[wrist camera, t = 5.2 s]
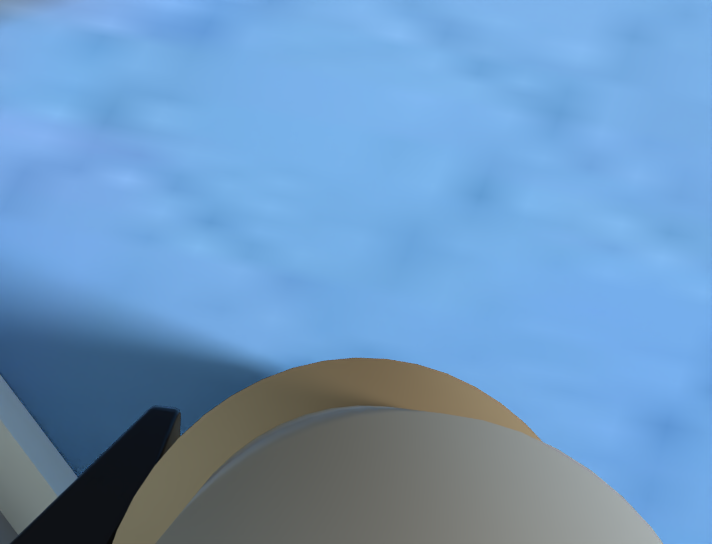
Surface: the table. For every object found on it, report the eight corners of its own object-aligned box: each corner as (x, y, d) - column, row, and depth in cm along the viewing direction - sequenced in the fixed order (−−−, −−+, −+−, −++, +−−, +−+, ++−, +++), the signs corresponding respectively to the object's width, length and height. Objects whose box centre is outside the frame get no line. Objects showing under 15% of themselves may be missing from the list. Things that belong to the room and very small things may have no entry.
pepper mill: (295, 638, 15) (362, 1630, 3) (165, 469, 16) (-242, 744, 3) (451, 493, 16) (962, 789, 4) (326, 338, 17) (458, 190, 4)
